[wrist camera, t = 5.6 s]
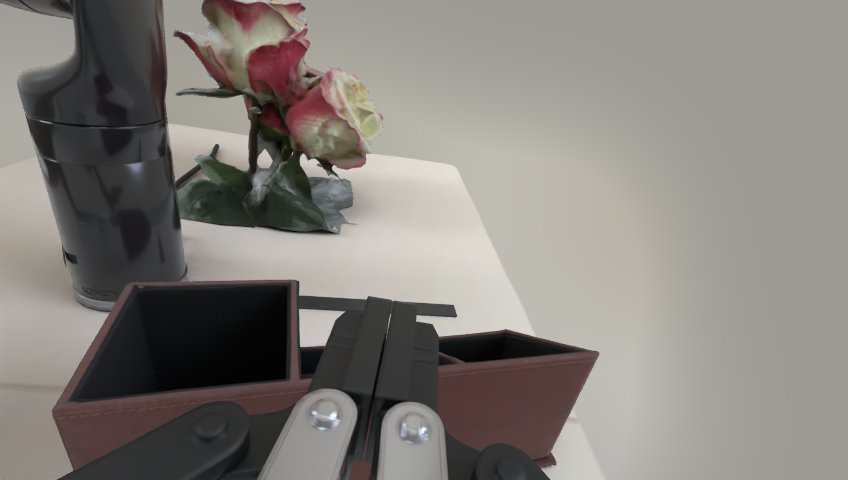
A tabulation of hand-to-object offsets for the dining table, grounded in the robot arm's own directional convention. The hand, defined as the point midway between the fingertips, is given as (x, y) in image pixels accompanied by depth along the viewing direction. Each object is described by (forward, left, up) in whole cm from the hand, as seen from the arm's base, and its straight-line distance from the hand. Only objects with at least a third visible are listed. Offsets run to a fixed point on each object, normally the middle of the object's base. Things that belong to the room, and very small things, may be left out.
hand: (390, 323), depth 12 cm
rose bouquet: (-55, -13, -20) cm, 59 cm away
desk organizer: (-10, 0, -20) cm, 22 cm away
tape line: (-26, 0, -19) cm, 33 cm away
